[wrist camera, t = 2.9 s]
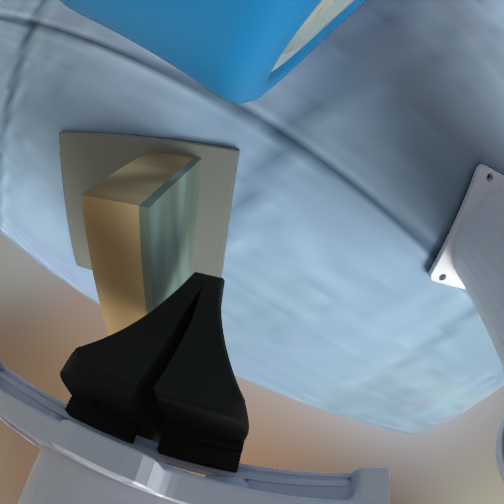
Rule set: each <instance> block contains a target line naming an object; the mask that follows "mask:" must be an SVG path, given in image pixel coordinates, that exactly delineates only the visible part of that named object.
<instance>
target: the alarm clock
mask: <svg viewBox="0 0 504 504" xmlns="http://www.w3.org/2000/svg"><path fill="white" fill-rule="evenodd" d="M60 1H61V2H62V3H64V4H65V5H66V6H67V7H69V8H70V9H72V10H74V11H76V12H77V13H79V14H81V15H83V16H85V17H87V18H89V19H91V20H93V21H95V22H97V23H99V24H101V25H103V26H105V27H107V28H109V29H111V30H113V31H115V32H117V33H119V34H120V35H122V36H124V37H126V38H128V39H130V40H131V41H133V42H135V43H137V44H138V45H140V46H142V47H144V48H145V49H147V50H149V51H150V52H152V53H154V54H155V55H157V56H159V57H160V58H162V59H163V60H165V61H167V62H168V63H170V64H171V65H173V66H175V67H176V68H178V69H179V70H181V71H182V72H184V73H185V74H187V75H188V76H190V77H191V78H193V79H194V80H196V81H197V82H199V83H200V84H202V85H203V86H205V87H206V88H208V89H209V90H210V91H212V92H213V93H215V94H216V95H218V96H219V97H221V98H223V99H225V100H227V101H229V102H232V103H246V102H249V101H252V100H255V99H257V98H259V97H260V96H261V95H263V94H264V93H265V92H267V91H268V90H269V89H271V88H272V87H273V86H274V85H275V84H276V83H278V82H279V81H280V80H281V79H282V78H283V77H284V76H285V75H286V74H287V73H289V72H290V71H291V70H292V69H293V68H294V67H295V66H296V65H297V64H298V63H299V62H300V61H301V60H302V59H303V58H304V57H305V56H306V55H307V54H309V53H310V52H311V51H312V50H313V49H314V48H315V47H316V46H317V45H318V44H319V43H320V42H321V41H322V40H323V39H324V38H325V37H326V36H327V35H329V34H330V33H331V32H332V31H333V30H334V29H335V28H336V27H337V26H338V25H339V24H340V23H341V22H342V21H344V20H345V19H346V18H347V17H348V16H349V15H350V14H351V13H352V12H353V11H354V10H356V9H357V8H358V7H359V6H360V5H361V4H362V3H363V2H364V1H366V0H60Z"/></svg>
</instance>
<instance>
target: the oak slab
mask: <svg viewBox="0 0 504 504" xmlns="http://www.w3.org/2000/svg"><path fill="white" fill-rule="evenodd" d="M201 161H202V159H201V158H194V157H188V156H181V155H175V154H167V153H160V152H152V151H149V152H147V153H145V154H144V155H142V156H140V157H138V158H137V159H135V160H133V161H132V162H130V163H129V164H127V165H125V166H124V167H122V168H120V169H119V170H117V171H116V172H114V173H113V174H111V175H110V176H108V177H106V178H105V179H103V180H102V181H100V182H99V183H97V184H96V185H95V186H93V187H92V188H90V189H89V190H87V191H86V192H84V193H83V194H82V195H81V199H82V208H83V216H84V224H85V230H86V237H87V243H88V249H89V255H90V260H91V265H92V270H93V275H94V280H95V284H96V289H97V293H98V297H99V301H100V305H101V309H102V313H103V316H104V320H105V324H106V328H107V331H108V334H109V336H110V335H112V334H114V333H116V332H118V331H120V330H122V329H124V328H126V327H127V326H129V325H131V324H133V323H134V322H136V321H138V320H139V319H141V318H142V317H144V316H145V315H147V314H148V313H149V312H151V311H152V310H153V309H155V308H156V307H157V306H158V305H160V304H161V303H162V302H163V301H165V300H166V299H167V298H168V297H169V296H170V295H172V294H173V293H174V292H175V291H176V290H177V289H178V288H179V287H180V286H181V285H182V284H183V283H184V282H185V281H186V280H187V279H188V278H189V277H190V276H191V275H192V274H193V258H194V242H195V228H196V215H197V203H198V192H199V181H200V171H201Z"/></svg>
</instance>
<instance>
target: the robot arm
mask: <svg viewBox="0 0 504 504" xmlns="http://www.w3.org/2000/svg"><path fill="white" fill-rule="evenodd" d="M489 173H490V177H489V179H487V175H488V174H489ZM428 274H429V278H430V279H431V281H433V282H438V283H442V284H446V285H450V286H454V287H458V288H462V289H466V290H467V292H468V294H469V296H470V297H471V299H472V301H473V303H474V305H475V307H476V309H477V311H478V313H479V315H480V317H481V319H482V321H483V323H484V325H485V327H486V329H487V331H488V333H489V335H490V337H491V340H492V342H493V344H494V346H495V349H496V351H497V353H498V356H499V358H500V361H501V363H502V366H503V368H504V176H503V175H502V174H500V173H498V172H496V171H495V170H493V169H491V168H489V167H488V166H486V165H484V164H480V165H478V166H477V168H476V170H475V172H474V175H473V178H472V180H471V183H470V186H469V188H468V191H467V193H466V196H465V198H464V200H463V203H462V205H461V207H460V210H459V212H458V214H457V217H456V219H455V221H454V223H453V225H452V227H451V230H450V232H449V234H448V236H447V238H446V240H445V242H444V244H443V246H442V248H441V250H440V252H439V254H438V256H437V258H436V259H435V261H434V263H433V265H432V267H431V269H430V271H429V273H428ZM442 274H443V275H442ZM440 275H442V276H441V277H440ZM223 288H224V279H223V278H220V277H215V276H211V275H207V274H203V273H198V272H195V273H193V274H192V275H191V276H190V277H189V278H188V279H187V280H186V281H185V282H184V283H183V284H182V285H181V286H180V287H179V288H178V289H177V290H176V291H175V292H174V293H173V294H172V295H170V296H169V297H168V298H167V299H166V300H165V301H163V302H162V303H161V304H160V305H158V306H157V307H156V308H155V309H153V310H152V311H151V312H149V313H148V314H147V315H145V316H144V317H142V318H141V319H139V320H138V321H136V322H134V323H133V324H131V325H129V326H127V327H126V328H124V329H122V330H120V331H118V332H116V333H114V334H112V335H110V336H108V337H105V338H104V339H101V340H99V341H96V342H93V343H90V344H87V345H85V346H81V347H78V348H76V350H75V351H74V352H73V353H72V354H71V356H70V357H69V359H68V360H67V362H66V364H65V365H64V367H63V369H62V370H61V372H60V376H61V379H62V381H63V383H64V384H65V386H66V387H67V389H68V390H69V392H70V393H71V395H72V397H71V399H70V400H69V403H68V404H65V403H63V402H62V401H60V400H58V399H56V398H54V397H52V396H51V395H49V394H47V393H45V392H44V391H42V390H40V389H39V388H37V387H35V386H34V385H32V384H31V383H29V382H27V381H25V380H24V379H23V378H21V377H20V376H18V375H17V374H15V373H14V372H12V371H11V370H9V369H8V368H6V367H5V366H4V365H3V363H2V362H1V361H0V420H1V421H3V422H4V423H5V424H7V425H8V426H9V427H10V428H12V429H13V430H14V431H16V432H17V433H18V434H20V435H21V436H23V437H24V438H25V439H27V440H28V441H30V442H31V443H32V444H34V445H35V446H37V447H38V448H40V449H41V450H40V452H39V455H38V457H37V459H36V461H35V463H34V466H33V468H32V470H31V473H30V475H29V477H28V480H27V482H26V485H25V487H24V490H23V492H22V495H21V497H20V500H19V503H18V504H390V478H389V467H369V468H360V469H357V470H355V471H353V472H352V473H319V472H303V471H291V470H281V469H273V468H265V467H258V466H252V465H246V464H240V463H239V461H240V456H241V452H242V449H243V444H244V440H245V439H246V437H247V435H248V430H249V422H248V416H247V410H246V405H245V400H244V398H243V396H242V393H241V391H240V389H239V387H238V384H237V381H236V379H235V376H234V373H233V370H232V367H231V364H230V361H229V357H228V354H227V350H226V345H225V340H224V335H223V328H222V319H221V303H222V296H223ZM496 459H497V465H498V469H499V472H500V475H501V477H502V479H503V481H504V418H503V420H502V422H501V424H500V428H499V431H498V435H497V442H496ZM163 463H164V464H163ZM166 464H167V465H166ZM169 465H170V466H169ZM171 466H174V467H178V468H181V469H184V470H188V471H192V472H196V473H200V474H204V475H206V476H205V477H201V476H198V475H195V474H192V473H189V472H186V471H183V470H180V469H177V468H174V467H171Z"/></svg>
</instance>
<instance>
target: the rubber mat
mask: <svg viewBox="0 0 504 504" xmlns="http://www.w3.org/2000/svg"><path fill="white" fill-rule="evenodd" d="M59 134H60V155H61V168H62V179H63V188H64V196H65V204H66V211H67V217H68V224H69V229H70V235H71V240H72V245H73V250H74V255H75V260H76V264H77V265H78V266H81V267H84V268H87V269H90V270H92V265H91V260H90V255H89V249H88V243H87V237H86V230H85V224H84V216H83V208H82V199H81V195H82V194H83V193H84V192H86V191H87V190H89V189H90V188H92V187H93V186H95V185H96V184H97V183H99V182H100V181H102V180H103V179H105V178H106V177H108V176H110V175H111V174H113V173H114V172H116V171H117V170H119V169H120V168H122V167H124V166H125V165H127V164H129V163H130V162H132V161H133V160H135V159H137V158H138V157H140V156H142V155H144V154H145V153H147V152H149V151H152V152H160V153H167V154H175V155H181V156H188V157H194V158H201V159H202V161H201V171H200V181H199V192H198V203H197V215H196V228H195V242H194V258H193V273H195V272H198V273H203V274H207V275H211V276H215V277H220V278H221V276H222V268H223V261H224V253H225V246H226V239H227V231H228V224H229V217H230V210H231V204H232V197H233V190H234V183H235V177H236V170H237V164H238V158H239V151H240V150H238V149H233V148H227V147H221V146H215V145H209V144H202V143H196V142H188V141H181V140H173V139H165V138H156V137H147V136H136V135H125V134H111V133H95V132H69V131H63V132H61V133H59Z"/></svg>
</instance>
